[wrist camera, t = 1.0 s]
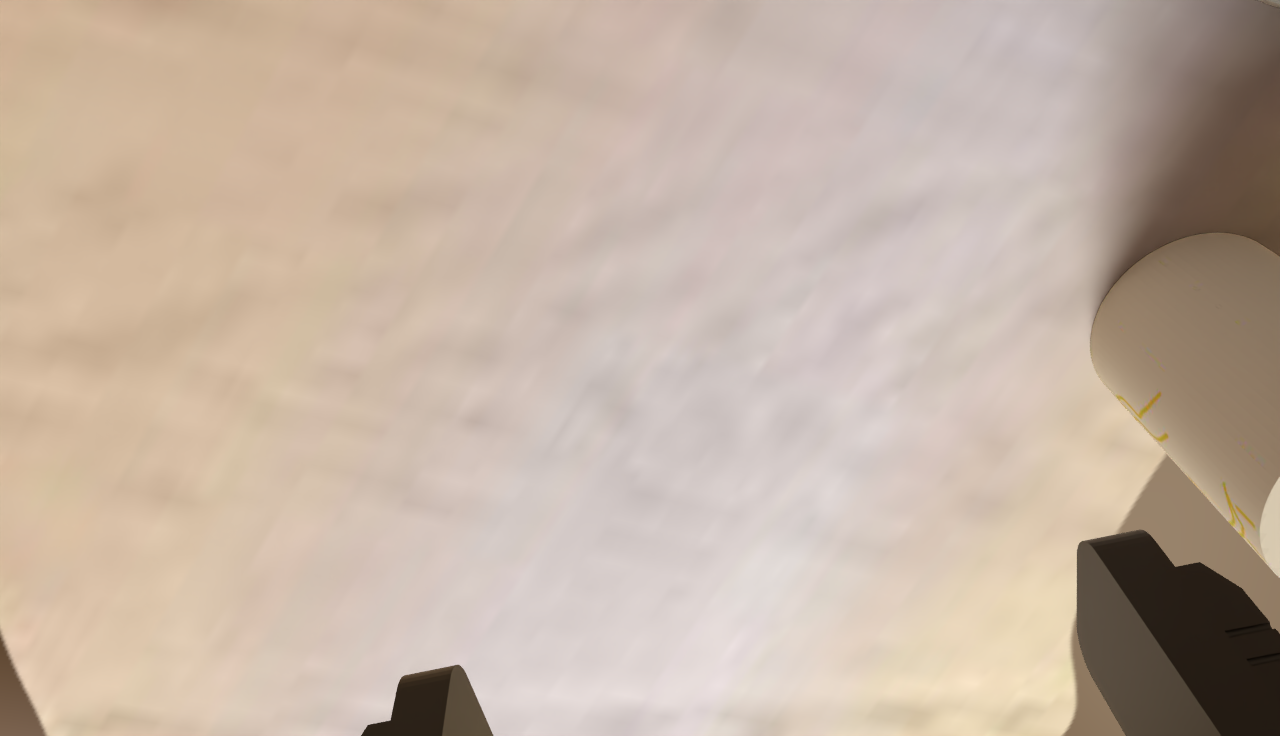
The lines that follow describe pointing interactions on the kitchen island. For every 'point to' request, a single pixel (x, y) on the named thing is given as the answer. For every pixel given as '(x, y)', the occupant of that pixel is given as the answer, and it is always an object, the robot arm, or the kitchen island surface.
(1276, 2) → the panel
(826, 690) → the kitchen island surface
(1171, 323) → the white cylinder
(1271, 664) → the robot arm
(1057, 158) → the kitchen island surface
